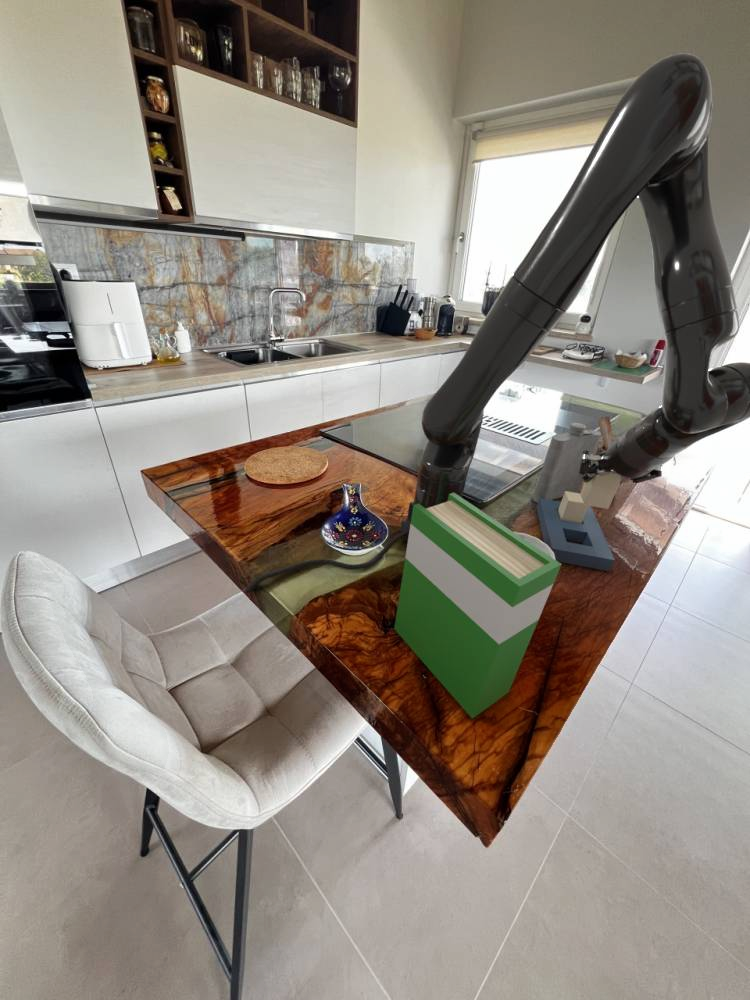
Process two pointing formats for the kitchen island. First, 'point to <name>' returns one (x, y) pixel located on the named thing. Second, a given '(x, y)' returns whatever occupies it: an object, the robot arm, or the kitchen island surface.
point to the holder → (574, 537)
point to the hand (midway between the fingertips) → (598, 479)
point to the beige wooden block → (572, 507)
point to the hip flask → (565, 462)
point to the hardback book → (470, 599)
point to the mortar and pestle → (605, 434)
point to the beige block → (600, 490)
